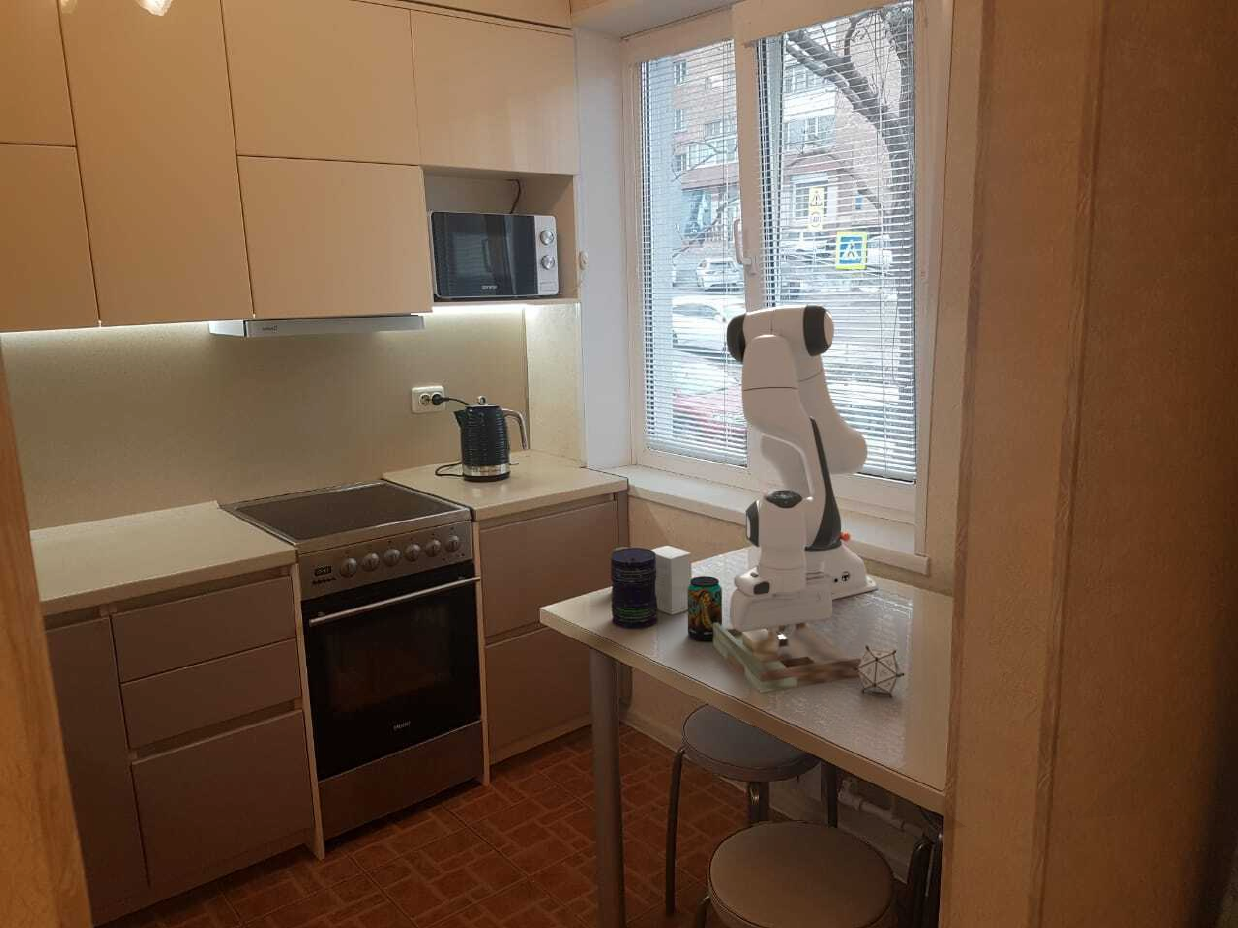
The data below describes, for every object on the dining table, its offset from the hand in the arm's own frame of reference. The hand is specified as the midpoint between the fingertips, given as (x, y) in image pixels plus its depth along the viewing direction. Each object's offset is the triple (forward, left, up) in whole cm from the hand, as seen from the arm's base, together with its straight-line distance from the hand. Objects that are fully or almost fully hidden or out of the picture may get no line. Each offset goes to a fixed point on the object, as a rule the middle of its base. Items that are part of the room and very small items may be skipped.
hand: (781, 645), depth 176 cm
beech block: (+4, 0, -1) cm, 5 cm away
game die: (-10, +18, -3) cm, 21 cm away
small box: (+10, -35, -3) cm, 36 cm away
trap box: (-1, 0, -3) cm, 3 cm away
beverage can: (+9, -17, -3) cm, 19 cm away
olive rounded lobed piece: (+17, -47, -3) cm, 50 cm away
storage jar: (+20, -30, -3) cm, 36 cm away
